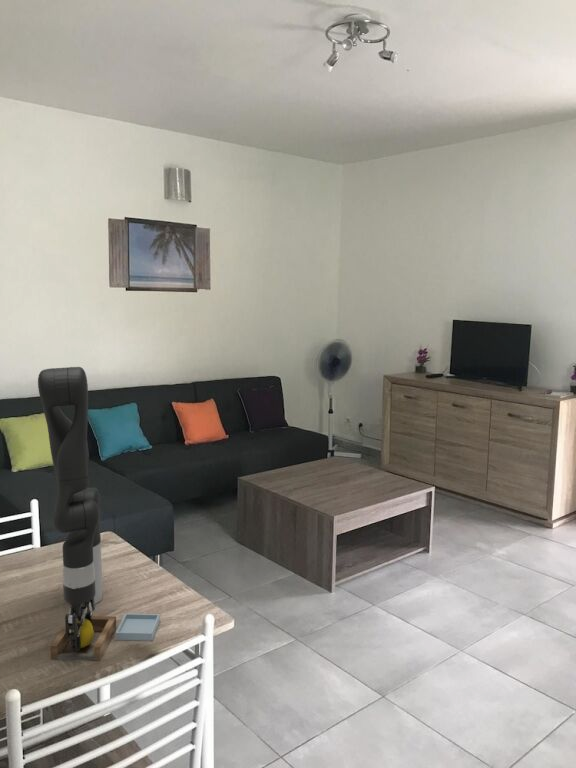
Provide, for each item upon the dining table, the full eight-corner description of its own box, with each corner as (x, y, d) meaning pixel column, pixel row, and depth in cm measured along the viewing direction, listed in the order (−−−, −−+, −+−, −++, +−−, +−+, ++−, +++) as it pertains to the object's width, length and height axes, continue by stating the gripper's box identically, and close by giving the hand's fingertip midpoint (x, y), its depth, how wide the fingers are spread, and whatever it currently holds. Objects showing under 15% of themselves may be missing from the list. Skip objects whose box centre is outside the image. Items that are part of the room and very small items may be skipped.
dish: (125, 620, 172) (125, 613, 171) (160, 620, 172) (159, 614, 171) (115, 639, 162) (115, 632, 162) (152, 640, 162) (152, 633, 162)
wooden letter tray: (71, 627, 168) (70, 615, 167) (116, 628, 168) (116, 616, 167) (51, 659, 154) (50, 646, 153) (100, 660, 154) (99, 647, 153)
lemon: (85, 639, 163) (84, 610, 161) (98, 647, 159) (97, 618, 158) (66, 648, 158) (65, 619, 157) (79, 657, 155) (77, 627, 154)
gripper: (74, 566, 163) (76, 624, 165) (52, 593, 149) (55, 656, 151) (103, 566, 163) (105, 625, 165) (84, 594, 148) (87, 657, 151)
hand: (81, 640), depth 158 cm, fingers open, 8 cm apart
